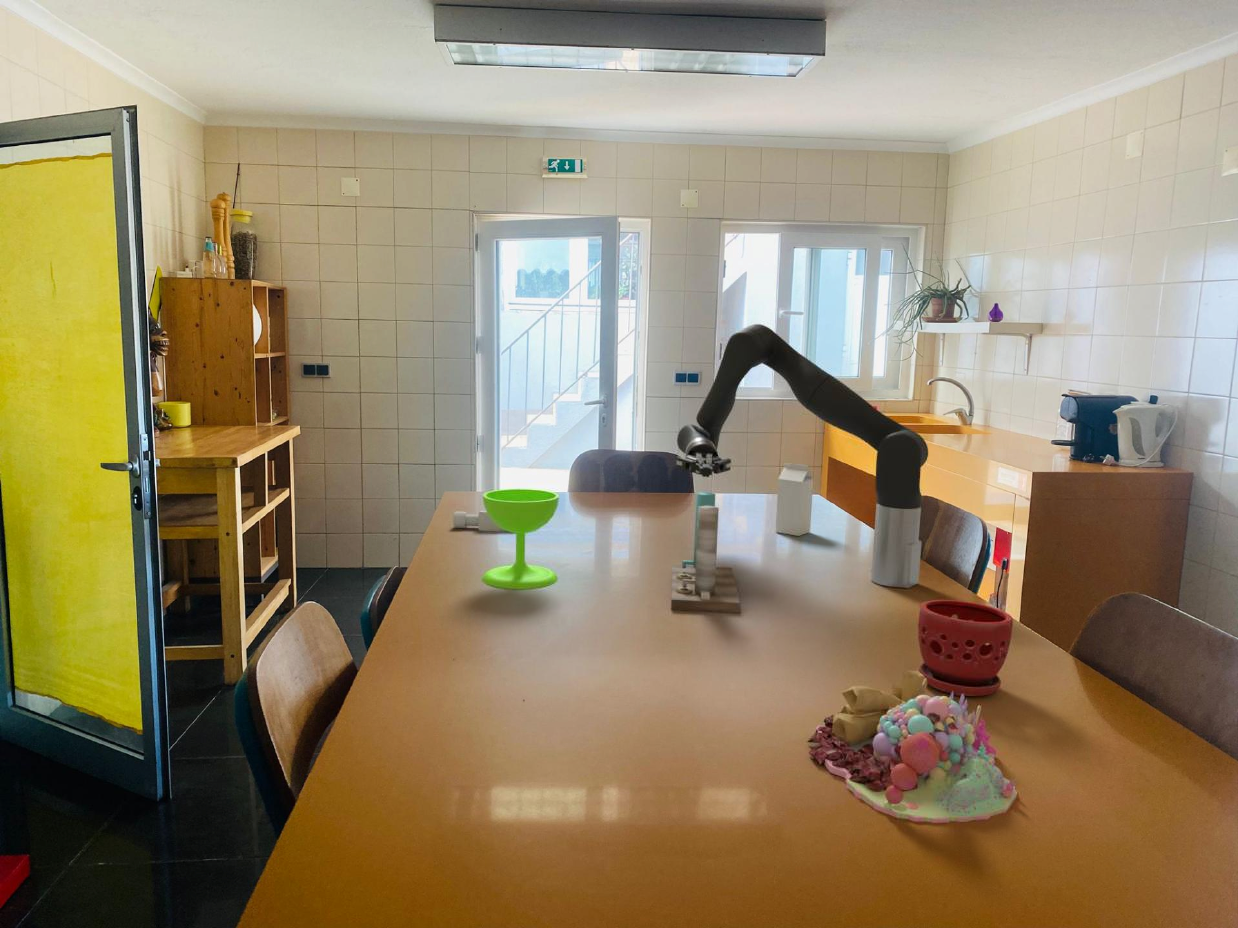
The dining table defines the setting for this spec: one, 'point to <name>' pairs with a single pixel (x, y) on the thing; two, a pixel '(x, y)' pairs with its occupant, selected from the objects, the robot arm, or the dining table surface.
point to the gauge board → (715, 602)
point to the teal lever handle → (701, 500)
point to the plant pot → (963, 646)
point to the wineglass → (520, 534)
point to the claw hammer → (475, 521)
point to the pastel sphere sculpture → (914, 754)
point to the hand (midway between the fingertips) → (706, 472)
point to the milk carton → (794, 500)
